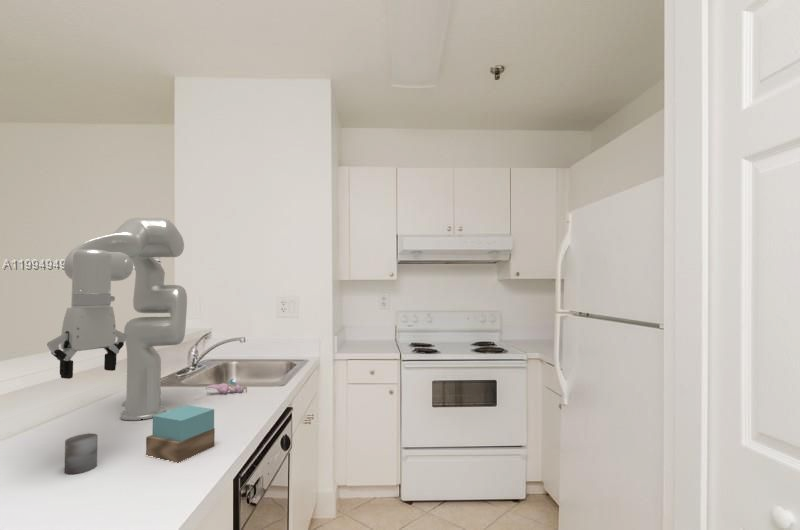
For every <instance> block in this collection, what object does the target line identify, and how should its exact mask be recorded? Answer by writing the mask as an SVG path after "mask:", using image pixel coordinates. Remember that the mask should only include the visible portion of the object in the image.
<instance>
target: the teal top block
mask: <svg viewBox="0 0 800 530" xmlns="http://www.w3.org/2000/svg"><path fill="white" fill-rule="evenodd" d="M214 428H215V408H209V407H201V406H195V405H190V404H189V405H188V404H185V405H183V406H182V405H181V406H180V407H176V408H173V409H170V410H166V411H165V412H163V413H160V414H157V415H154V416H153V418H152V434H151V435H152V436H154V437H159V438H164V439H169V440H174V441H179V442H182V441H184V440H187V439H189V438H192V437H194V436H197V435H199V434H202V433H204V432H206V431H209V430H211V429H214Z"/></svg>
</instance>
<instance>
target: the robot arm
mask: <svg viewBox="0 0 800 530" xmlns="http://www.w3.org/2000/svg"><path fill="white" fill-rule="evenodd" d="M184 242H185V241H184V238H183V235H182V234H181V232H180V231H179V230H178V228H177V226H176V225H175V223H173V222H172V221H170V220H168V219H167V218H161V217H160V218H158V217H157V218H156V217H155V218H153V217H133V218H132V217H131V218H130V219H127V220H126V221H124V222H123V223H122V224H121V225H120V226H119V227H118V228H117V229H116V230H115V231H114V232H113V233H109V234H106V235H101V236H99V237H95V238H92V239H88V240H86V241H83V242H82V243H79V244H77V246H75V247H73V249H72V250H70V252H69V253H68V254H67V256H66V257H65V260H64V264H63V271H64V273H65V275H66V276H67V277H68V278H69V279H71V304H70V305H71V307H67V308H66V311H65V313H64V314H65V315H64V318H63V321H62V326H61V335H59V336H57V337H55V338H53V339H50V341H48V342H47V343H46V346H47V348H48V350H49V351H50V352H51V355H53V357H54V358H56V359H57V361H59V375H60V379H66V380H67V379H68V380H70V379H72V378H73V377H74V361H73V357H74V356H75V355H76V353H77V352H81V351H89V350H90V351H91V350H98V349H103V350H104V351H105V352H106V353H105V354H104V360H103V361H104V363H103V364H104V365H103V366H104V369H103V370H104V371H116V367H117V355H118V354H119V353H120V350H121V349H122V348H123V346H124V344H125V347H126V348H125V349H126V400H125V401H123V402H121V403H120V406H121V407H124V411H123V412H121V413H120V415H119V417H120V419H121V420H123V421H124V420H125V421H142V420H141V419H143V420H147V419H153V418H152V417H153V416H154V415H157V414H160V413H163V412H167V410H166V407H165V406H163V405H161V386H162V385H161V383H162V381H161V380H162V373H161V372H162V358H161V356H160V354H159V352H158V351H157V350H156V349H155V348H154V347H161V346H164V347H165V346H177V345H181V344H182V343H183V341H184V339H185V334H186V324H187V311H188V310H187V309H188V293H187V290H186V289H185V288H184V286H182V285H178V284H165V275H166V272H165V269H164V268H163V267H162V265H161V264H160V263H159V262H158V261H157V259H155V258H177V257H180V256H181V255H182V254H183V252H184V249H185V243H184ZM133 269H135V279H134V289H133V299H132V300H133V301H132V302H133V304H132V306H133V310H134V311H135V312H136V313H141V314H170V315H169V316H141V317H134V318H132V319H130V320H128V321H127V322H126V323H125V325H124V327H123V328H124V329H123V332H122V331H119V330H117V328H116V316H115V310H114V307H113V306H111V304H112V303H111V302H115V297H116V296H114V295H112V293H111V290H112V289H111V287H112V282H121V281H123V280H126V279H128V278H129V277H130V276H131V275H132V273H133ZM116 338H117V340H116Z"/></svg>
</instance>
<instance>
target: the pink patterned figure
mask: <svg viewBox="0 0 800 530" xmlns="http://www.w3.org/2000/svg"><path fill="white" fill-rule="evenodd" d="M234 380H235V379H234V378H231V379H229V381H228V382H229V384H230V385H233V386H232V387H231V386H229V385H228V384H227V383H225V382H223V383H219V384H210V385H207V386H206V387H205V390H207V389H215V390H217V391H218V393H221V394H223V395H226V394H227V393H228V392H229V391H230V393H231V392H232V393H234V392H235V393H238V394H242V393H243V392H244V390H245V392H247V391H248V387H247V386H245V385H244V386H241V384H237V382H235V381H234Z"/></svg>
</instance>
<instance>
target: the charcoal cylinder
mask: <svg viewBox="0 0 800 530" xmlns="http://www.w3.org/2000/svg"><path fill="white" fill-rule="evenodd" d="M97 466H98V434H96V433H82V434H78V435H73V436H71V437H69V438H66V439H65V440H64V474H65V475H68V476H69V475H70V476H71V475H74V476H75V475H79V474H86V473H88V472H90V471H92V470H94V469H96V468H95V467H97Z"/></svg>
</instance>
